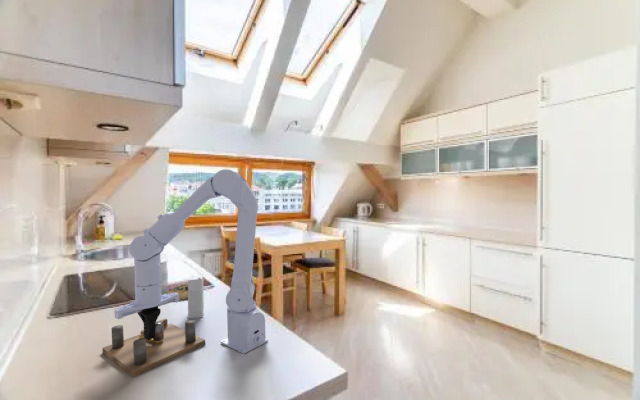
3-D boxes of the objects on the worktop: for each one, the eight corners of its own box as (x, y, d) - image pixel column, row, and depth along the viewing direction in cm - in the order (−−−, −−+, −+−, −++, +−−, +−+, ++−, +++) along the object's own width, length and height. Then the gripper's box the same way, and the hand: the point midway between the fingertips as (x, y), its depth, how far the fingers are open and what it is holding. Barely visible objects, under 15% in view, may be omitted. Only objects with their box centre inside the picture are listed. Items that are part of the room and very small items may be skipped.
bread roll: (189, 289, 125) (189, 277, 125) (204, 298, 118) (204, 286, 117) (160, 297, 117) (160, 284, 116) (174, 308, 110) (174, 295, 109)
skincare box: (189, 312, 102) (188, 274, 101) (204, 310, 103) (203, 273, 102) (187, 319, 96) (186, 280, 95) (203, 317, 97) (202, 278, 97)
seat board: (205, 344, 80) (204, 321, 80) (133, 376, 66) (132, 349, 66) (171, 327, 90) (170, 306, 90) (102, 352, 77) (101, 328, 76)
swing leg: (138, 338, 81) (137, 320, 81) (147, 334, 83) (146, 316, 83) (157, 345, 77) (156, 325, 77) (166, 340, 80) (165, 322, 79)
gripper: (168, 274, 86) (170, 323, 86) (108, 288, 74) (110, 345, 75) (182, 278, 82) (184, 330, 82) (121, 293, 70) (123, 353, 70)
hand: (149, 337), depth 78 cm, fingers closed, pressing on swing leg
